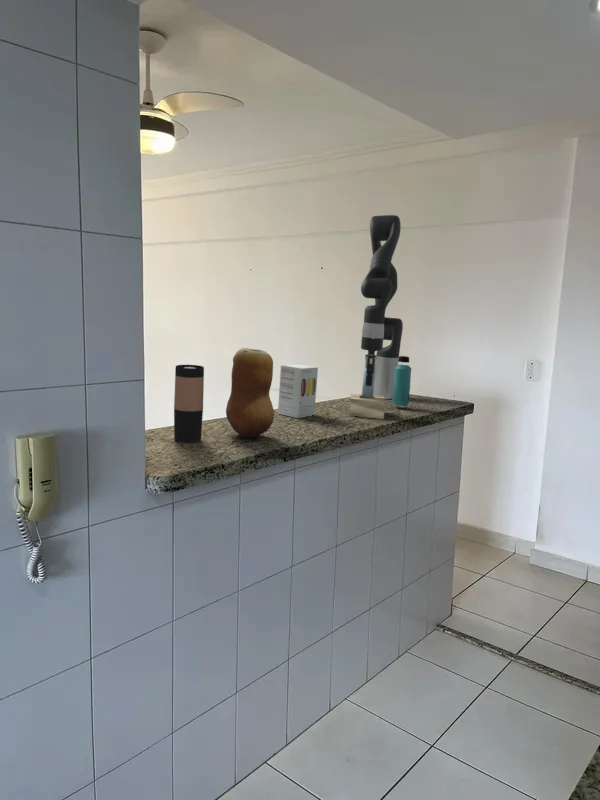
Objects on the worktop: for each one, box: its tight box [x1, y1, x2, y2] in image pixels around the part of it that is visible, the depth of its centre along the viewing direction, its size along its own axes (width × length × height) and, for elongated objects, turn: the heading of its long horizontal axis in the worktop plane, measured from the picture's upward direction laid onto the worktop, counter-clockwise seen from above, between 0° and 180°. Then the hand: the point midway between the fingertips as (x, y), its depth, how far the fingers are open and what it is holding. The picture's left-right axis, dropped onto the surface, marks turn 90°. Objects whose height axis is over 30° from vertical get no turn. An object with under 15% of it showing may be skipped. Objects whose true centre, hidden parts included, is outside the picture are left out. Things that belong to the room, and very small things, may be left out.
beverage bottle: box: [391, 355, 412, 407], centre depth 225 cm, size 6×7×20 cm
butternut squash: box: [225, 347, 275, 440], centre depth 166 cm, size 14×13×25 cm
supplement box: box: [277, 363, 319, 419], centre depth 201 cm, size 10×9×17 cm
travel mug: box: [173, 364, 205, 444], centre depth 159 cm, size 8×8×20 cm
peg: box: [361, 361, 376, 398], centre depth 209 cm, size 4×4×12 cm
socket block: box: [348, 393, 386, 420], centre depth 211 cm, size 12×12×6 cm
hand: (368, 384), depth 210 cm, fingers closed on peg, 4 cm apart
